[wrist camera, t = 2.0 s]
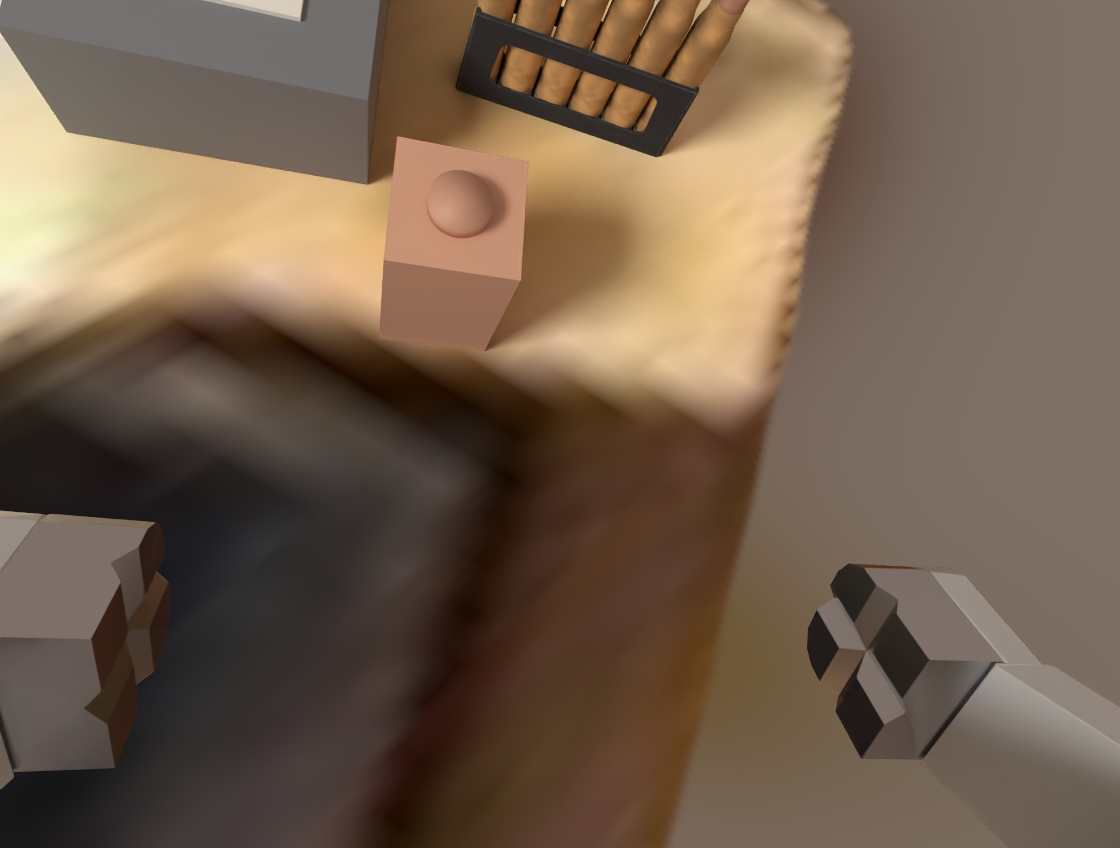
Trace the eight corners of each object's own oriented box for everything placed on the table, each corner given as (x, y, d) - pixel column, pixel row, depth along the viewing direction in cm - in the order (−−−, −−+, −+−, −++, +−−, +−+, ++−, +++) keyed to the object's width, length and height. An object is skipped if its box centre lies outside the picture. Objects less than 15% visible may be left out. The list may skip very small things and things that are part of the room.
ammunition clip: (664, 128, 37) (795, -71, 26) (659, 158, 37) (790, -31, 25) (463, 58, 35) (509, -193, 24) (455, 89, 35) (498, -151, 23)
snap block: (379, 338, 31) (384, 252, 23) (389, 240, 32) (398, 125, 24) (484, 351, 32) (524, 273, 24) (491, 256, 33) (531, 151, 25)
